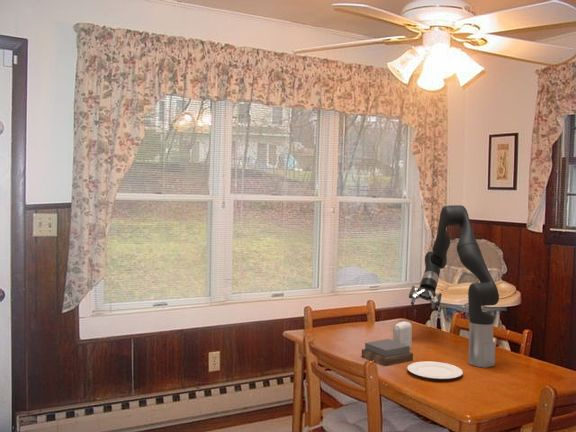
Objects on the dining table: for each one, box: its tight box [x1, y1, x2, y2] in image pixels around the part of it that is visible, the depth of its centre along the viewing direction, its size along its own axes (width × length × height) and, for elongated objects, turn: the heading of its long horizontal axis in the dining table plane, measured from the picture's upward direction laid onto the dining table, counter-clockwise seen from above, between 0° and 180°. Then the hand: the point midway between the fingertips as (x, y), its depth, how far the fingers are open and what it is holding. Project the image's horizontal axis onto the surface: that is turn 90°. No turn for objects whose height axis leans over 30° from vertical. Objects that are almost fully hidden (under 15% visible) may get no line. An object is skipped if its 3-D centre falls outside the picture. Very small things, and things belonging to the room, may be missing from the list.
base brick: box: [361, 348, 414, 367], centre depth 233 cm, size 15×15×3 cm
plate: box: [406, 360, 464, 381], centre depth 214 cm, size 21×21×2 cm
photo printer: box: [392, 321, 413, 349], centre depth 247 cm, size 10×4×12 cm, turn 134°
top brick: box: [364, 338, 411, 358], centre depth 233 cm, size 13×13×3 cm
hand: (422, 307), depth 252 cm, fingers open, 8 cm apart
